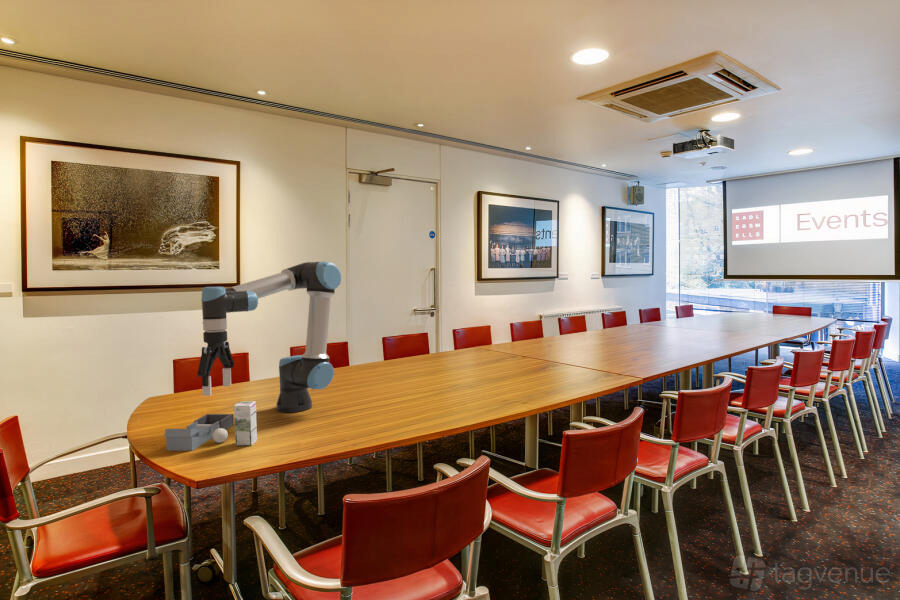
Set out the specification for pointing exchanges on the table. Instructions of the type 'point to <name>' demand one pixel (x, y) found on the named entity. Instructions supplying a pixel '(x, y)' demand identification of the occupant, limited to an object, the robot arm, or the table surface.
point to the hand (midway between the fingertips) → (217, 390)
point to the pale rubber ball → (219, 435)
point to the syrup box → (245, 423)
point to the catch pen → (223, 419)
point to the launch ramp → (189, 436)
